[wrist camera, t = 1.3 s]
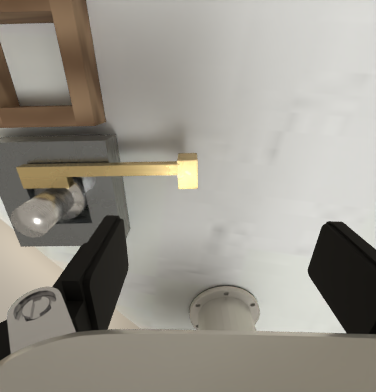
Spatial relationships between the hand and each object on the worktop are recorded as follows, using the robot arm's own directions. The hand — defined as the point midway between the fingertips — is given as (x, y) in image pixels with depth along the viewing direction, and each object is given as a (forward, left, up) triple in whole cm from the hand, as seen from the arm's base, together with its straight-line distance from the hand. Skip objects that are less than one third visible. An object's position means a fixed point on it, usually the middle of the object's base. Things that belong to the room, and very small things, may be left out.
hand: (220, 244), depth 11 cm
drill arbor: (-5, +18, -20) cm, 27 cm away
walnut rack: (+10, +18, -20) cm, 28 cm away
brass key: (-1, +10, -16) cm, 19 cm away
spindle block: (-5, +18, -20) cm, 27 cm away
